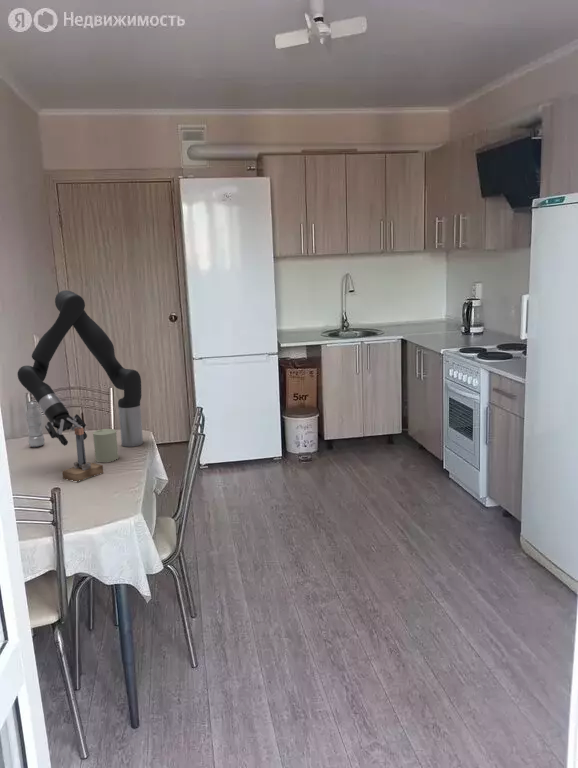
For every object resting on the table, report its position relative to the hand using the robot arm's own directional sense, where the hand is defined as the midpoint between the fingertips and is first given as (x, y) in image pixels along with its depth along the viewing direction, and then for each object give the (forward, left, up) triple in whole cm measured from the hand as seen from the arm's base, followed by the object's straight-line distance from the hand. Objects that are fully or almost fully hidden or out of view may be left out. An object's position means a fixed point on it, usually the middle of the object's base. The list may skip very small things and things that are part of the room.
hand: (76, 441), depth 232 cm
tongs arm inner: (+1, +2, -10) cm, 10 cm away
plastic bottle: (-38, -34, -13) cm, 52 cm away
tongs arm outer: (+2, +2, -10) cm, 10 cm away
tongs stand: (+1, +2, -13) cm, 13 cm away
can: (-19, +4, -13) cm, 23 cm away
